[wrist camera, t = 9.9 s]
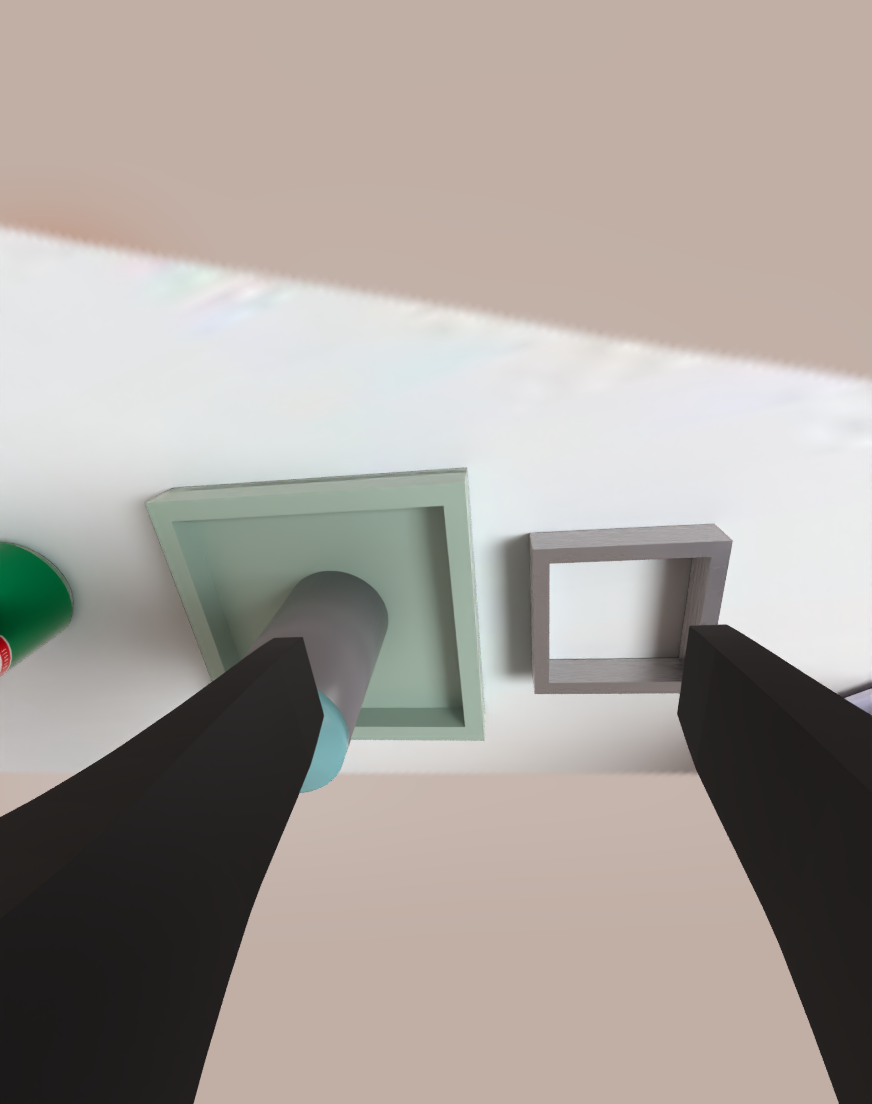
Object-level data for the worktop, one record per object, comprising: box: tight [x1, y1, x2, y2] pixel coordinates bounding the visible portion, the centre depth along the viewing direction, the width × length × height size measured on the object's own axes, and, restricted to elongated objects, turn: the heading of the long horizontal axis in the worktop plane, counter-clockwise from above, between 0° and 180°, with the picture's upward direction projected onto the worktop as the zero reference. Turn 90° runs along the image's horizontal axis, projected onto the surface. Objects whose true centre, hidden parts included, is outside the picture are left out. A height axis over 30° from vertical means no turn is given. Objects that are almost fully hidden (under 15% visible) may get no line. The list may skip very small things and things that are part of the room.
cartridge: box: [243, 571, 388, 793], centre depth 18 cm, size 4×4×7 cm
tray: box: [145, 468, 485, 741], centre depth 21 cm, size 12×12×2 cm
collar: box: [530, 524, 733, 694], centre depth 19 cm, size 7×7×2 cm
